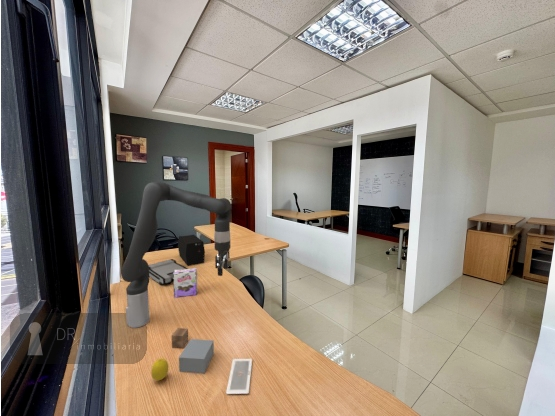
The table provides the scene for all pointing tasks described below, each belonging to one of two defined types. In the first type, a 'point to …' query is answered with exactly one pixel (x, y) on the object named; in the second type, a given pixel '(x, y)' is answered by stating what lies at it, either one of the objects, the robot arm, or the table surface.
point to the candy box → (185, 282)
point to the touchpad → (239, 376)
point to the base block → (196, 356)
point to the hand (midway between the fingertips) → (223, 271)
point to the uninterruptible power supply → (191, 250)
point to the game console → (164, 271)
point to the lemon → (159, 369)
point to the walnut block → (179, 338)
